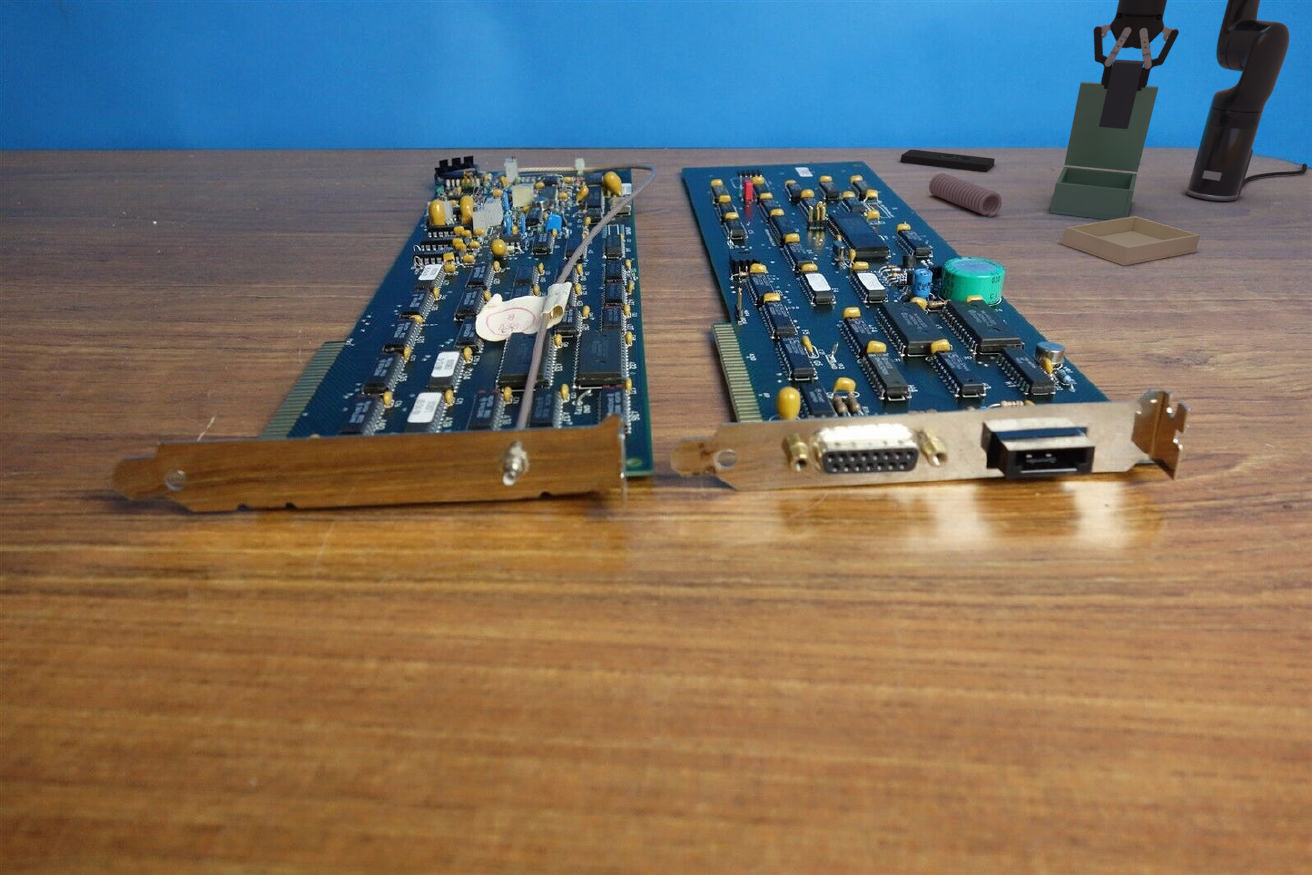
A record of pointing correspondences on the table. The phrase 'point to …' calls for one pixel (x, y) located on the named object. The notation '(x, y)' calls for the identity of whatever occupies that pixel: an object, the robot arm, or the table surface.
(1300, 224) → the table surface
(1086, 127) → the lid
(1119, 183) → the chest
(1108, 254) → the tray
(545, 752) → the table surface
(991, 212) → the coil
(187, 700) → the table surface
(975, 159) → the smart home device
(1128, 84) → the block
